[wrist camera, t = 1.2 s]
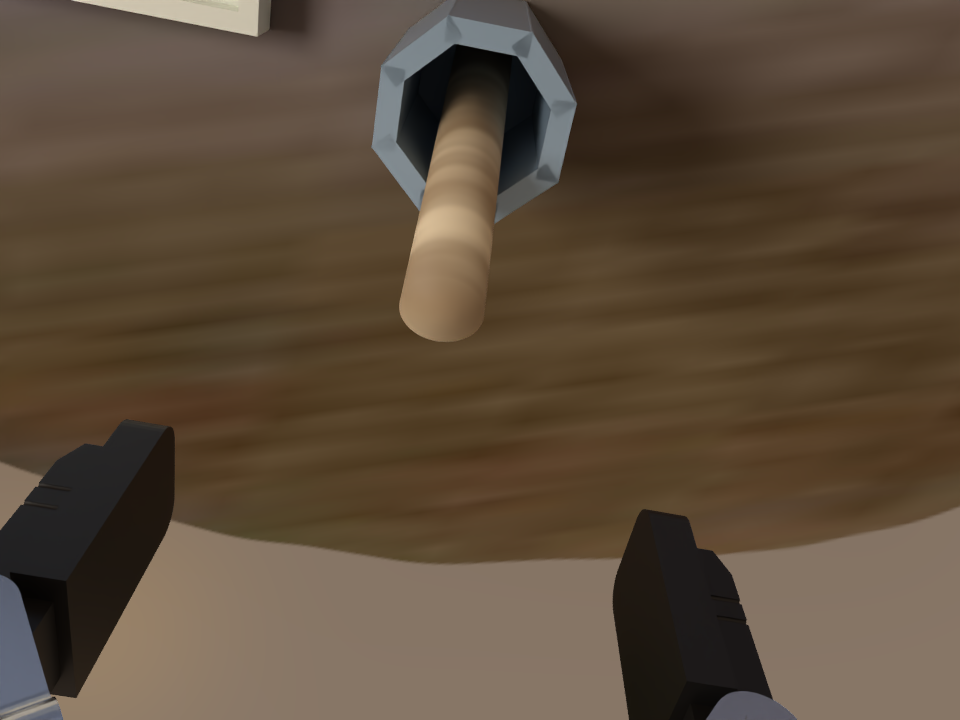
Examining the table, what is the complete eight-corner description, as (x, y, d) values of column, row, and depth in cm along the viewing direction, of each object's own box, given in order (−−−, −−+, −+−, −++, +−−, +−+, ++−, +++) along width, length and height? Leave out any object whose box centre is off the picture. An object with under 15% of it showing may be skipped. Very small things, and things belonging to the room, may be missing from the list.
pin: (460, 21, 34) (422, 141, 20) (517, 32, 34) (518, 159, 20) (438, 158, 37) (393, 343, 23) (490, 168, 37) (475, 357, 23)
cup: (415, -22, 34) (388, 2, 26) (571, 10, 34) (591, 43, 26) (394, 136, 37) (364, 200, 29) (538, 163, 37) (546, 234, 30)
